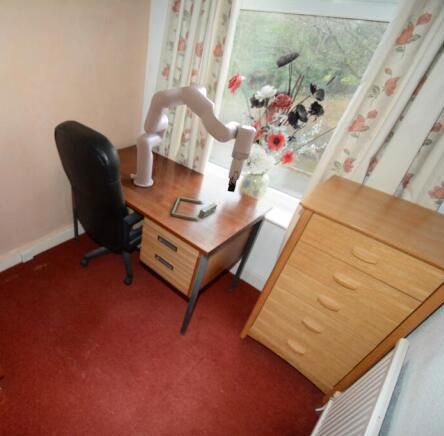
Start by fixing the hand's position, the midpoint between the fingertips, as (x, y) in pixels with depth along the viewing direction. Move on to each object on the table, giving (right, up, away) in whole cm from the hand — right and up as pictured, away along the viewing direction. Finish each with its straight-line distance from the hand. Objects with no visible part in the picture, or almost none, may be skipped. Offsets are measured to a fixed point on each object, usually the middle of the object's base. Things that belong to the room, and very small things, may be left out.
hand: (231, 188), depth 136 cm
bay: (-19, -10, +15) cm, 26 cm away
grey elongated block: (-9, -13, +12) cm, 20 cm away
